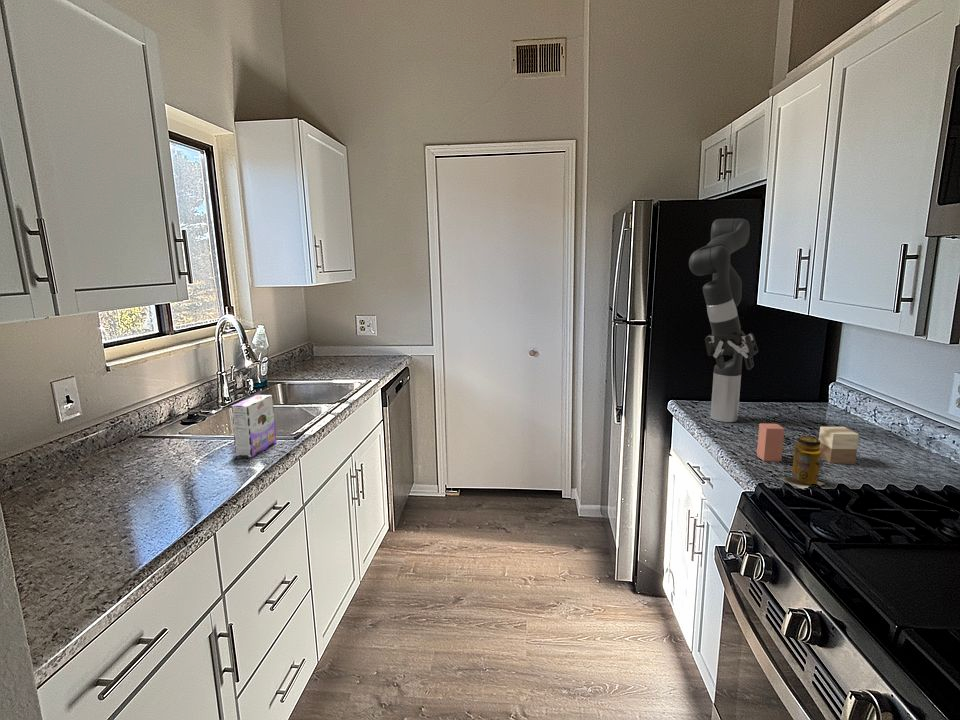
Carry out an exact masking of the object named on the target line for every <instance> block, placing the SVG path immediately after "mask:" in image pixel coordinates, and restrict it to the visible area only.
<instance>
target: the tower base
mask: <svg viewBox="0 0 960 720" xmlns="http://www.w3.org/2000/svg"><path fill="white" fill-rule="evenodd" d="M820 451H821V457H820V458H822V459H823V460H825V461H826V462H827V463H829V464H843V465H844V464H847V465H848V464H849V465H850V464H851V465H852V464H853V465H854V464H856V462H857V461H856V460H857V452H858V448H857V449H831V448H830V447H828V446H826V445H825V444H823V443H821V442H820Z"/></svg>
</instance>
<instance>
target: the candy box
mask: <svg viewBox="0 0 960 720" xmlns="http://www.w3.org/2000/svg"><path fill="white" fill-rule="evenodd" d="M230 408H231V409H230V410H231V419H232V429H233V430H232V431H233V438H234V439H233V441H234V450H235V451H234V452H235V457H243V458H244V457H245V458H253V457H255V456H256V455H258V454H259V453H261V452H263V451H264V450H266V449H268V448H269V447H270V446H272V445H275V443H277V434H276V425H275V424H276V421H275V413H274V401H273V395H272V394H255V395H253V396H251V397H248V398H245V399H243V400H242V401H239V402H237V403H235V404H233V405H230Z"/></svg>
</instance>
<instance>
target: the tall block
mask: <svg viewBox="0 0 960 720" xmlns="http://www.w3.org/2000/svg"><path fill="white" fill-rule="evenodd" d="M757 437H758V438H757V448H756V456H757V457H758V456H759V457H758V458H760V459H761V460H762V461H763V462H782V459H783V458H782V457H783V449H784V439H785V438H784V437H785V428H784V427H783V426H781V425H780V424H778V423H759V426H758V436H757Z"/></svg>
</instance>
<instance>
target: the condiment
mask: <svg viewBox="0 0 960 720" xmlns="http://www.w3.org/2000/svg"><path fill="white" fill-rule="evenodd" d="M821 458H822V457H821V451H820V440H819V438H816V437H813V436H805V435H804V436H803V435H802V436H798V437H797V441H796V446H795V447H794V451H793V461H792V471H791V475H789V476H785V477H780V478H778V480H780V481H781V482H785V483H787V482H788V483H787V484H790V485H791V486H794V487H797V488H799V489H802V490H805V489H804V488H808V486H809V485H810V484H818V485H819V486H822V485H825V484H826V483H825V482H823V481H822V482H821V481H819V480H818V479H819V472H820V463H821ZM808 489H809V488H808Z"/></svg>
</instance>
